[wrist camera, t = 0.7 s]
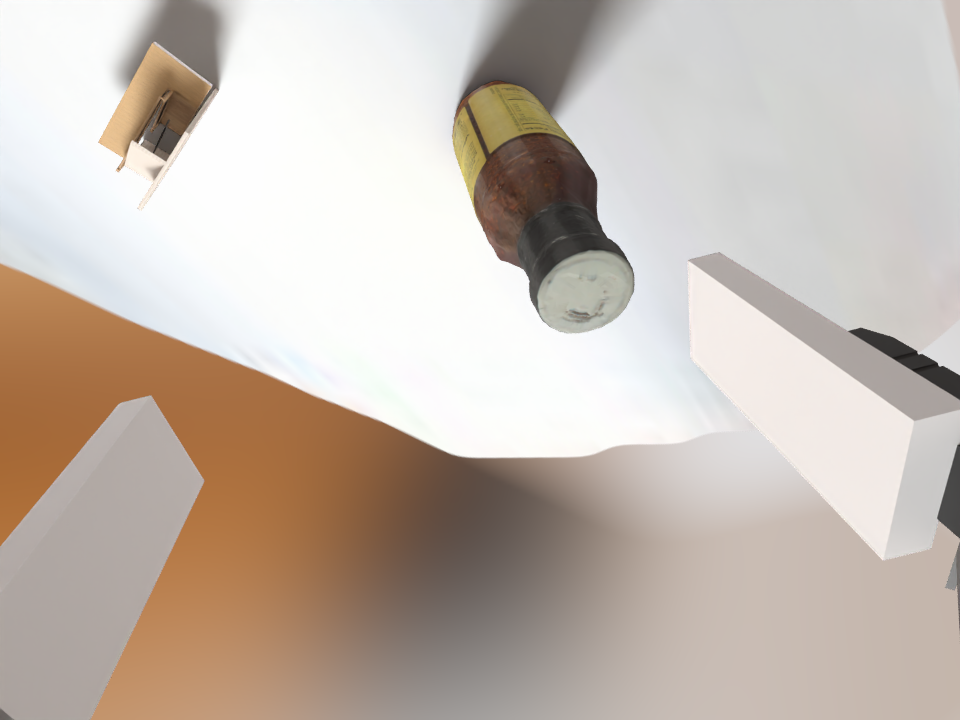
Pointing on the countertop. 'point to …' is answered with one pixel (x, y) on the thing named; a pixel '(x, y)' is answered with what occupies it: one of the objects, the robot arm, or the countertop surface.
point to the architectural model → (142, 105)
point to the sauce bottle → (540, 207)
